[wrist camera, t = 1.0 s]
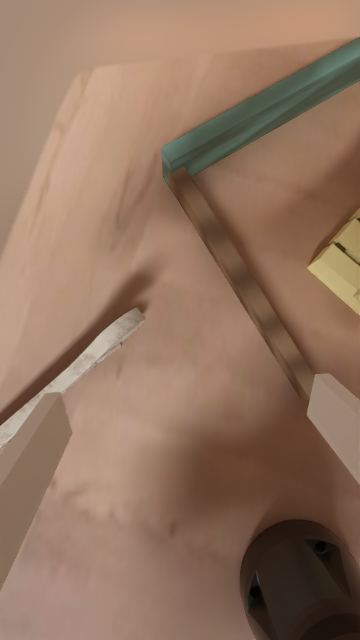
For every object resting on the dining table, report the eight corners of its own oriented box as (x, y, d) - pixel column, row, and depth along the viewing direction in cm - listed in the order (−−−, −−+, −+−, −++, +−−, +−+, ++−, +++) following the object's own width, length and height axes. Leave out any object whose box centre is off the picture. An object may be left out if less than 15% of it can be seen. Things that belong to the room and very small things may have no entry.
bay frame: (516, 255, 33) (578, 241, 28) (299, 396, 31) (323, 409, 26) (383, 51, 34) (420, 3, 29) (163, 176, 32) (161, 147, 27)
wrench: (-14, 446, 32) (146, 307, 31) (-6, 456, 32) (155, 318, 31) (-82, 490, 24) (130, 305, 23) (-71, 503, 24) (142, 320, 23)
